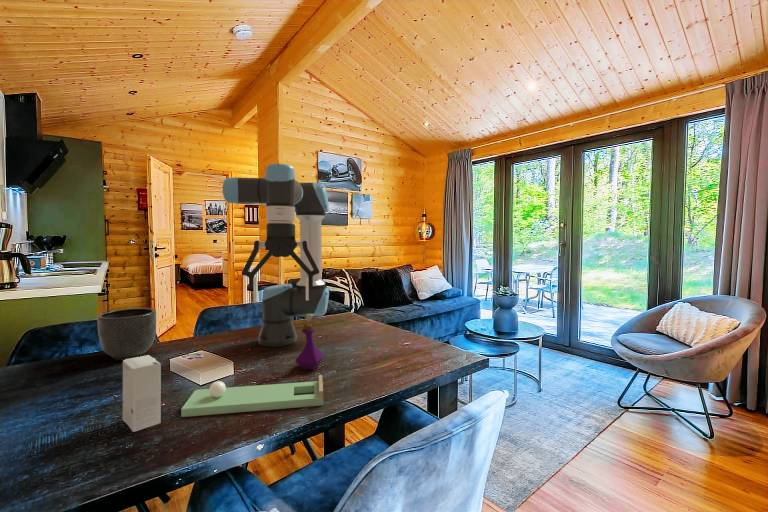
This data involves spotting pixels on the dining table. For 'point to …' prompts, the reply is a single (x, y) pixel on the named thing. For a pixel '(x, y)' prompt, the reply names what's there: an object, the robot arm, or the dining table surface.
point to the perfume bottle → (309, 349)
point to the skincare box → (141, 392)
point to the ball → (217, 389)
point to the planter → (127, 332)
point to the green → (255, 398)
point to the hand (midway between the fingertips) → (281, 300)
